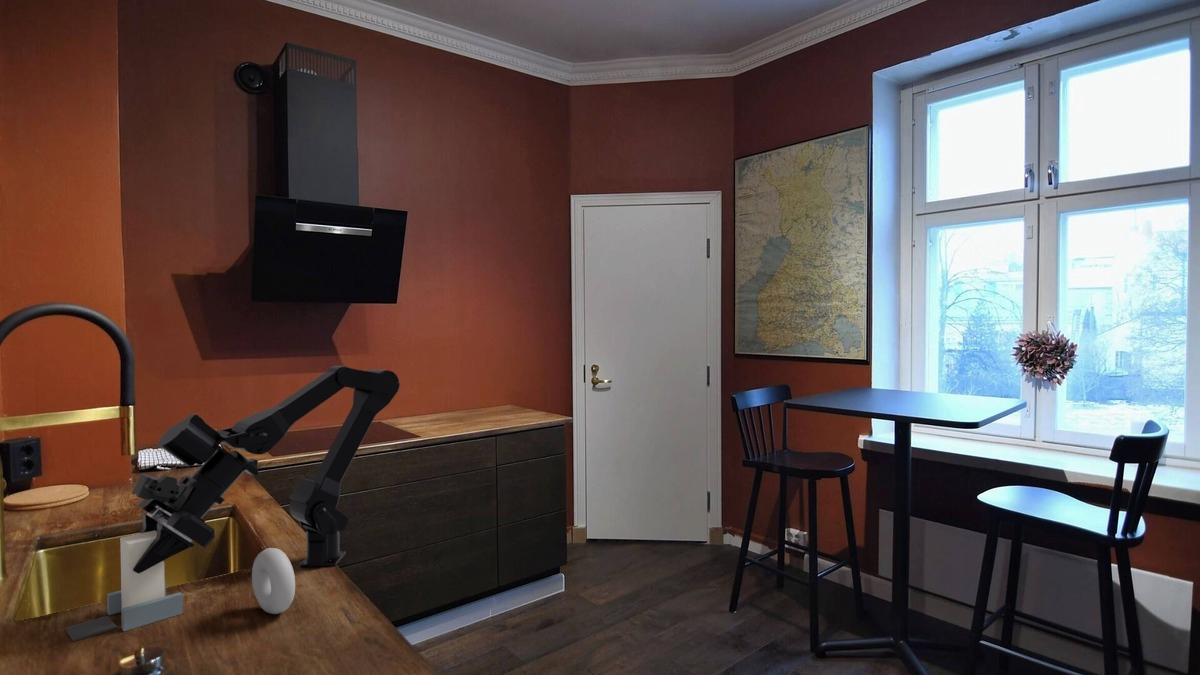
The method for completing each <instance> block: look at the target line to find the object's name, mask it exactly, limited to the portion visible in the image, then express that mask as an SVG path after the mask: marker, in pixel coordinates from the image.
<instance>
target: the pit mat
mask: <svg viewBox="0 0 1200 675" xmlns="http://www.w3.org/2000/svg"><path fill="white" fill-rule="evenodd" d="M64 628H65V629H64V630H65V632H66V633H67V635H68V636H69V637H70V639H71V640H72V641H73V642H76V641H80V640H83V639H86V638H90V637H93V636H97V635H99V634H103V633H106V632H109V631H113V630H116V629H118V625H116V624H115V622H114V621H113V620H112V619H111V617H109V615H104V616H101V617H98V618H94V619H91V620H87V621H83V622H80V623H76V624H73V625H70V626H66V627H64Z"/></svg>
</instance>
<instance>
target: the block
mask: <svg viewBox="0 0 1200 675" xmlns="http://www.w3.org/2000/svg"><path fill="white" fill-rule="evenodd" d="M156 536H157V532H156V531H150V532H145V533H141V534H140V533H137V534H136V533H135V534H132V535H127V536H121V537H120V540H119V541H120V588H121V589H120V590H121V601H122V608H126V607H129V606H133V605H136V604H140V603H143V602H147V601H151V600H154V599H158V598H161V597H165V583H164V580H165V560H164V561H162V562H160V563H158V564H156V565H154V566H152V567H151V568H149V569H147V570H145V571H143V572H141V573H136V572H135V571H133V568H134V567H135V565H136V564H137V562H138V561H139V559H140V558H141V557H142V555H143V554H144V553H145V551H146V550H147V549H148V547H149V546H150V545H151V543H152V542H153V541H154V539H155V538H156Z"/></svg>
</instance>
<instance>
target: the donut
mask: <svg viewBox="0 0 1200 675" xmlns="http://www.w3.org/2000/svg"><path fill="white" fill-rule="evenodd" d="M251 581H252V583H251V584H252V590H253V594H254V596H255V599H256V601H257V602H258V605H259V606H260V608H261V609H263V611H265V612H266V613H269V614H272V615H278V614H281V613H282V612H284V611H287V609H288V608H290V606H291V604H292V602H293V600H294V598H295V595H296V594H295V593H296V578H295V572H294V567H293V565H292V563H291V561H290V559H289V558H288V556H287V554H286V553H285V552H284V551H282V550H281V549H279V548H275V547H268V548H266V549H264V550H262V551H261V552H259V553H258V554H257V556H256V557H255V559H254V561H253V565H252V570H251Z"/></svg>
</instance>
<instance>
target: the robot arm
mask: <svg viewBox="0 0 1200 675" xmlns="http://www.w3.org/2000/svg"><path fill="white" fill-rule="evenodd" d="M400 386H401V383H400V381H399V378H398V376H397V374H396V373H395V372H394V371H392V370H389V369H366V370H363V369H362V370H361V369H357V368H351V367H350V366H346V365H333V366H330V367H329V368H328V369H327V370H326V371H325V372H323V373H322V374H320V375H319V376H318V377H316V378H314V379H313V380H311V382H309V383H307V384H306V385H305V386H303V387H302V388H299V390H297V391H295V392H294V393H292V394H291V395H290V396H287V398H285V399H283V400H282V401H281V402H279V403H277V404H276V405H274V406H272V407H270V408H267V409H263V410H260V411H258V412H255V413H253V414H251V415H249V416H246V417H245V418H242V419H240V420H238V421H237V422H236V423H234V425H233V426H232V427H227V428H223V429H219V430H216V429H214V428H212V426H210V425H209V424H207V422H205V421H204V419H203V417H201V416H199V415H198V414H196V413H190V414H189V415H188V416H187V417H186V418H185V419H182V420H180V421H179V422H178V423H176V424H175V425H173V426H170V427H169V428H168V429H166V431H165V432H164V433H163V434H162V435H161V437H160V438H159V441H158V442H157V446H159V447H160V448H161V449H162V450H164V451H166V453H168V454H170V455H171V456H173V457H174V458H175V459H177V460H178V461H179V462H181V463H182V464H184V465H185V466H186V467H192V466H195V465H197V466H200V467H199V468H198V469H197V470H196V471H195V472H194V473H193V474H192V475H191V476H188V475H186V476H183V477H181V478H180V479H179V481H178V479H177V477H174V476H168V475H167V474H163V475H161V476H160V477H158V476H154V475H148V474H146V473H145V474H144V473H141V474H140V476H139V478H138V479H137V481H136V484H135V486H134V488H133V490H132V492H131V494H132V495H136V497H137V498H140V499H142V500H141V502H139V504H138V505H137V506H138V507H139V508H141V509H142V510H144V511H145V512H146V513H145V512H143V511H142V512H141V513H140V516H141V518H142V528H141V530H140V532H139V534H141V533H145V532H150V531H156V532H157V536H156V538H155V539H154V541H153V542H152V543H151V545H150V546H149V547H148V549H147V550H146V551H145V553H144V554H143V555H142V557H141V558H140V559H139V561H138V562H137V564H136V565H135V567H134V568H133V571H135V572H136V573H141V572H143V571H145V570H147V569H149V568H151V567H152V566H154V565H156V564H158V563H160V562H162V561H164V562H165V560H167V559H169V558H171V557H173V556H175V555H177V554H179V553H181V552H184V551H186V550H188V549H189V548H194V547H195V546H196V545H195V544H194V543H192V542H195V543H196V544H198V545H200V546H202V547H203V548H205V549H206V548H207V547H208V545H209V544H210V543H211V542H212V541H213V540H214V539H215V528H213V527H212V526H210V525H208V524H207V523H205V522H206V521H205V520H204V519H203V518H204V517H205V516H206V514H208V512H209V511H210V510H211V509H212V508H213V507H214V506H215V505H216V504H218V505H219V506H221V504H222V503H224V501H225V498H223V496H224V495H225V493H226V492H227V491H228V490H229V489H230V488H231V487H232V486H233V485H234V484H235V482H236V481H238V479H239V478H240V477H241V476H242V475H243V473H244V472H245V473H246V474H248V475H251V476H254V477H258V476H259V468H258V462H259V460H258V459H255V458H247V457H246V456H244V455H243V454H242V453H240V452H239V451H241V452H246V453H248V454H252V455H264V454H266V453H268V452H269V451H271V450H272V449H273V448H274V447H275V446H276V445H277V444H278V443H279V442H280V441H282V439H283V438H284V437H285V436H286V434H287V433H288V431H289V430H290V429H291V427H292V426H294V425H295V423H296V422H297V421H299V420H301V419H302V418H304V417H305V416H306V415H308V414H309V413H310V412H311V411H313V410H314V409H316V408H318V407H319V406H320V405H322V404H323V403H325V402H326V401H328V399H330V398H331V397H333V396H334V395H336V394H337V393H339V392H340V391H342V390H343V389H344V388H348V389H354V390H353V398H352V399H353V400H352V406H351V409H350V410H349V413H348V415H346V418H345V420H344V422H343V423H342V425H341V427H340V429H339V430H338V433H337V435H336V437H335V438H334V440H333V441H332V443H331V446H330V447H329V449H328V451H327V452H326V455H325V457H324V458H323V460H322V462H321V464H320V466H319V468H318V469H317V470H316V472H315V473H314V474H313V475H312V476H310V477H309V478H304V477H300V479H299V480H298V481H297V485H296V487H295V489H294V490H293V492H292V493H291V494H290V495H289V497H288V498H290V502H289V504H288V509H289V513H290V515H291V516H292V517H293V519H295V520H297V521H298V523H299V526H300V527H301V528H305V529H306V531H305V533H306V534H305V535H306V557H305V558H304V559H303V560H302V561H301V562H300V563H299V567H301V568H302V567H303V568H304V567H326V566H327V567H328V566H329V567H330V566H336V565H338V563H339V562H340V561H341V559H342V558H343V557H344V556H346V552H347V551H345V550H340V532H341V531H344V530H346V528H347V525H348V522H349V518H348V517H347V516H346V515H345V514H343V513H342V512H340V511H339V510H338V509H337V506H338V504H339V501H340V497H341V483H342V480H343V479H344V476H345V475H346V473H347V471H348V469H349V467H350V465H351V464H352V461H353V459H354V457H355V456H356V454H357V451H358V450H359V448H360V446H361V445H362V444H361V443H362V442H363V440H364V438H365V436H366V434H367V433H368V431H369V429H370V427H371V426H372V423H373V421H374V419H375V418H376V416H377V415H378V414H379V413H380V412H382V411H383V410H384V409H385V408H386V407H387V406H388V405H389V404H390V403H391V402H392V401H393V399H395V398H394V397H395V396H396V395H397V394H398V392H399V390H400ZM221 445H225V446H228V447H230V448H235V449H237V450H239V451H237V450H231V451H227V450H226V449H225V448H223V447H222V446H221ZM330 560H331V561H330Z"/></svg>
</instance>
